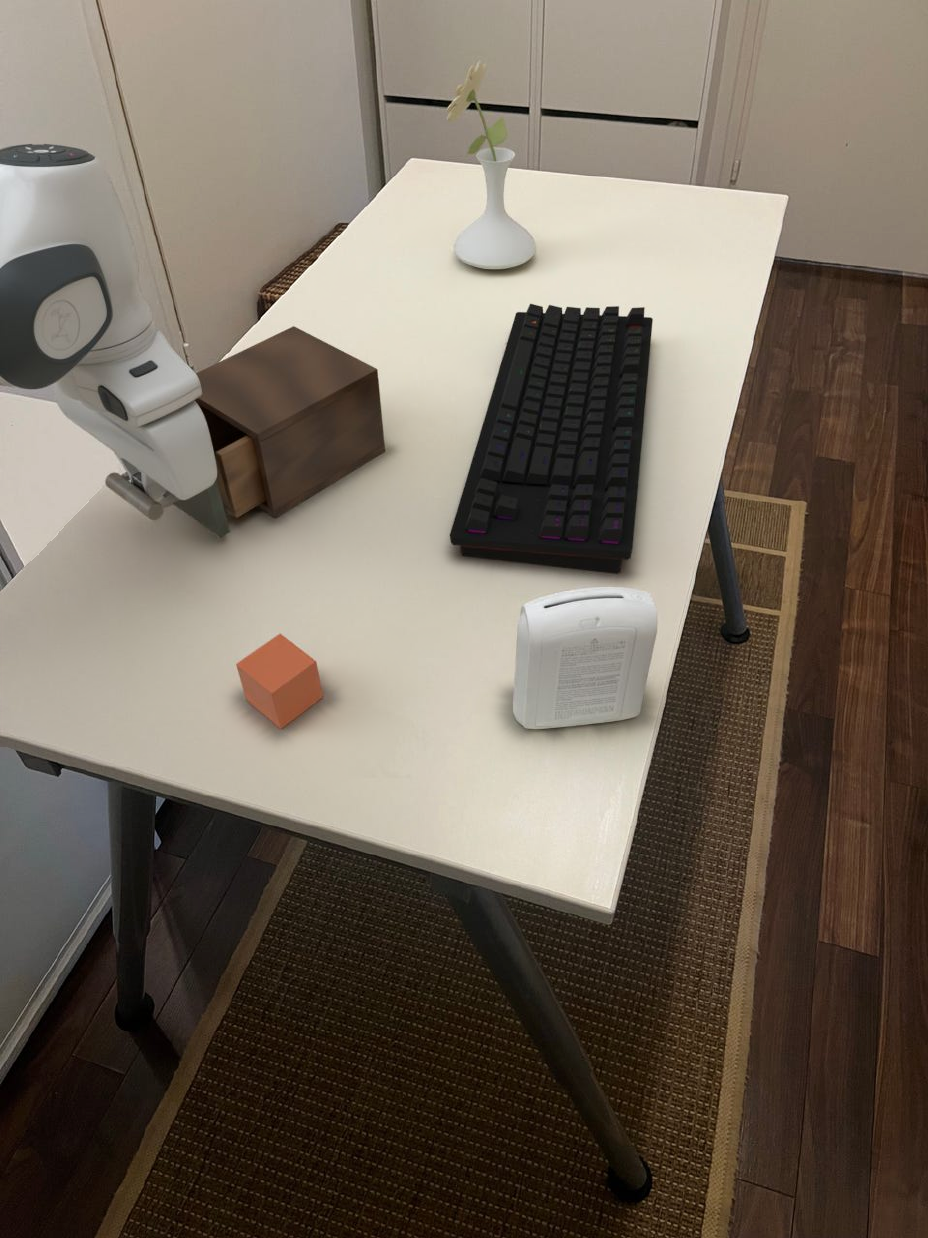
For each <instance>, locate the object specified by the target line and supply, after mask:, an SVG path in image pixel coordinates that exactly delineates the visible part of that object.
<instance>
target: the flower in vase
mask: <svg viewBox="0 0 928 1238" xmlns="http://www.w3.org/2000/svg"><path fill="white" fill-rule="evenodd" d="M486 71H487V64H486V63H485V62H482V59H479V60H478V62H477V64H476V66H474V64H472V65H471V66H470V67H469V70H468V72H467V75H466V77H465V80H464V84H459V85H458V86H457V87H456V89H455V91H454V92H455V95H456V96H457V97H455V98H454V99H453V100H452V101H451V103H450V104H449V105H448V106H447V108H446V113H448V115H447V116H446V121H449V123H454V122H456V121H458V120H459V118H460V117H461V116H462V115H463V114H464V113H465V112H466V110H467V108H469V106H470V105H471V104H472V102H474V104H475V107H476V108H477V111H478V113H479V116H480V119H481V122H482V125H483V128H484V132H485V134H481V135H479V136H478V137H476V138H475V139H474V140H473V141H472V142H471V144H470V146H468V150H467V151H466V156H469V155H474V154H475V156H476V158H477V159H476V160H478V162H479V163H480V165H481V167H482V169H483V170H482V171H483V172H484V177H485V186H486V205H485V209H484V212H483V214H482V215H481V216H480V217H478V218H477V219H475V221H473V222H472V223H471V224H470V225H468V226H467V227H466V228H464V229H463V230H462V231H461V232H460V234H458V236H456V239H455V241H454V244H453V252H454V253H455V255H456V257H457V258H458V259H459V260H460V261H461V262H462V263H465V264H466V265H469V266H471V267H475V268H479V269H484V270H505V269H510V268H514V267H519V266H521V265H523V264H524V263H525V264H526V263H527V262H528V261H529V260H530V259H531V258H532V257H533V256H534V255H535V254H536V251H537V244H536V241H535V238H534V237H533V236H532V234H531V233H530V232H529V231H528V230H527V229H526V228H525V227H524V226H522V225H521V224H520V223H518V222H517V221H516V220H514V219H513V218H512V217H511V216H510V215H509V214H508V212H507V211H506V208H505V201H504V200H505V197H504V196H505V183H506V177H507V173H508V170H509V167H510V164H511V163H512V161H513V160H514V159H515V157H516V153H515V152H514V151H513V150H512V149H509V148H507V147H499V146H498V145H500V144H503V142H505V141H506V139H507V137H508V132H507V126H506V123H505V119H504V116H501V117H500V118H499V119H498V120H497V121H496V122H494V123H493V124H492V125H491V126H490V127H489V128H488V126H487V122H486V118H485V116H484V114H483V111H482V109H481V106H480V104H479V101H478V99H477V93H478V91H479V89H480V88H481V84H482V82H483V79H484V76H485V73H486ZM486 140H487V142H488V145H489V147H486V148H482V146H483V145H484V143H485V142H486ZM497 146H498V147H497Z"/></svg>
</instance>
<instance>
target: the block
mask: <svg viewBox="0 0 928 1238" xmlns="http://www.w3.org/2000/svg"><path fill="white" fill-rule="evenodd" d="M235 665H236V669H237V672H238V677H239V679H240V683H241V686H242V690H243V693H244V697H245V700H246V701H247V702H248V703H249V704H250V705H252V706H253V707H254V708H255V709H256V710H257V711H258V712H260V713H261V714H262V715H263V716H265V717H266V719H268V720H269V721H271V722H272V723H273V724H274V725H275V726H276V727H277V728H279V730H282V729H283V728H285V727H286V726H287V725H288V724H290V723H291V722H292V721H294V720H295V719H296V718H298V717H299V716H300V715H302V714H303V713H304V712H306V711H307V710H308V709H309V708H311V707H312V706H314V705H315V704H316V703H317V702H319V701H320V700H322V699H323V698H324V694H323V690H322V684H321V679H320V674H319V669H318V664H317V661H316V660H315V659H314V658H313V657H311V656H310V655H309V654H308V653H307V652H305V651H304V650H302V649H301V648H300V647H298V646H297V645H296V644H295V643H293V642H292V641H291V640H289V639H288V638H287V637H286V636H284V635H283V634H281V633H279V634H277V635H276V636H274V637H273V638H271V639H270V640H269V641H267V642H265V643H264V644H263V645H262V646H260V647H258V648H257V649H255V650H254V651H253V652H251V653H249V654H248V655H246V656H245V657H244V658H243V659H241V660H239V661H238V662H236V664H235Z"/></svg>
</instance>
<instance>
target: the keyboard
mask: <svg viewBox="0 0 928 1238" xmlns="http://www.w3.org/2000/svg"><path fill="white" fill-rule="evenodd" d="M645 309H646V307H644V306H642V307H641V306H640V307H631V309H630V311H629V312H628V314H627V316H626V315H620V306H619V305H617V306H616V305H615V306H606V307H605V309H604V310H603V312H602V314H601V308H600V307H590V306H589V307H585V309H584V311H583V314H582V308H581V307H574V306H566V308H565V311H564V313H563V307H560V306H556V305H553V304H548V306H547V308H546V311H545V312H544V307H543V306H542V305H538V304H535V303H534V304H533V303H529V305H528V307H527V310H526V311H517V312H515V314H514V315H515V316H514V317H513V318H514V319H513V322H512V326H511V328H510V332H509V335H508V339H507V342H506V345H505V348H504V352H503V356H502V359H501V362H500V365H499V369H498V372H497V376H496V379H495V382H494V385H493V388H492V392H491V396H490V399H489V402H488V404H487V405H488V406H487V409H486V412H485V416H484V419H483V422H482V426H481V430H480V432H479V435H478V439H477V443H476V445H475V449H474V452H473V455H472V459H471V461H470V462H471V463H470V466H469V469H468V473H467V475H466V480H465V482H464V486H463V489H462V493H461V496H460V499H459V502H458V506H457V509H456V514H455V516H454V519H453V522H452V526H451V528H450V533H449V539H450V543H451V545H452V546H459V547H460V555H461V556H462V557H468V558H477V559H487V560H495V561H502V562H503V561H504V562H512V563H513V562H514V563H522V564H528V565H529V564H531V565H537V566H538V565H539V566H549V567H556V568H566V569H567V568H568V569H573V570H574V569H575V570H582V571H590V572H591V571H592V572H601V573H602V572H603V573H610V574H620V573H621V569H622V563H623V560H624V561H628V560H630V559H632V553H633V549H634V548H633V546H634V536H635V525H636V514H637V502H638V491H639V480H640V468H641V457H642V445H643V434H644V422H645V411H646V399H647V388H648V380H649V379H648V378H649V366H650V355H651V345H652V344H651V343H652V333H653V321H654V319H653V317H650V316H645Z"/></svg>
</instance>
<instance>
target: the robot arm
mask: <svg viewBox="0 0 928 1238" xmlns="http://www.w3.org/2000/svg"><path fill="white" fill-rule="evenodd" d="M126 217H127V216H126V214H125V211H124V209H123V206H122V203H121V200H120V198H119V195H118V193H117V190H116V188H115V186H114V184H113V182H112V180H111V178H110V175H109V173H108V172H107V170H106V168H105V167H104V166H103V164H102V162H101V161H100V160H99V158H98V157H96V156H95V155H93V154H91V153H89V152H88V151H87V150H84V149H81V148H77V147H73V146H67V145H61V144H60V145H59V144H52V143H42V144H39V143H37V144H34V143H26V144H18V145H17V144H16V145H10V146H7V147H3V148H0V386H2V387H7V388H12V389H13V388H14V389H24V390H39V389H44V388H47V387H50V388H51V390H52V394H53V396H54V399H55V402H56V405H57V406H58V408H59V410H60V411H61V413H62V414H63V416H65V418H67V419H68V420H69V421H71V422H72V423H73V424H75V425H76V426H77V427H79V428H80V429H82V430H83V431H85V432H86V433H87V434H89V435H90V436H91V437H93V438H94V439H95V440H97V441H98V442H99V443H101V444H102V445H104V446H105V447H107V449H110V450H111V451H112V452H113V453H114V455H115V457H116V458H117V459H118V461H119V463H120V464H121V466H122V467H123V468H124V471H125V472H127V473H128V475H129V478H130V480H129V482H131V483H132V484H133V485H135V486H136V487H138V488H139V489H140V490H142V491H143V492H144V493H146V494H147V495H148V496H150V497H151V498H152V499H154V500H155V501H156V500H157V499H159V498H161V497H163V496H162V495H164V494H165V492H166V490H168V491H169V492H171V493H172V494H173V495H175V496H176V497H177V498H179V499H181V500H187V499H189V498H191V497H193V496H195V495H197V494H199V493H201V492H202V491H204V490H206V489H207V488H209V487H210V486H212V485H213V484H214V482H215V480H216V478H217V466H216V460H215V455H214V451H213V446H212V442H211V437H210V433H209V429H208V426H207V422H206V420H205V417H204V415H203V412H202V410H201V409H200V407H199V405H198V404H197V403H196V401H195V399H197V398H198V397H200V396H201V395H202V388H201V384H200V381H199V378H198V376H197V375H196V373H197V372H195V371H194V370H193V368H191V366H189V365H188V364H187V363H186V362H185V361H184V360H183V359H182V358H181V357H180V356H179V355H178V353H177V352H176V351H175V349H173V348H172V346H171V345H170V343H169V342H168V340H167V338H166V337H165V335H164V334H163V332H162V331H161V330H160V329H158V328H157V324H156V321H155V317H154V313H153V310H152V306H151V305H150V303H149V301H148V300H147V297H146V296H145V295H144V293H143V290H142V289H141V285H140V278H139V273H140V266H139V258H138V254H137V250H136V246H135V243H134V240H133V236H132V233H131V230H130V226H129V224H128V220H127V218H126Z"/></svg>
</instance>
